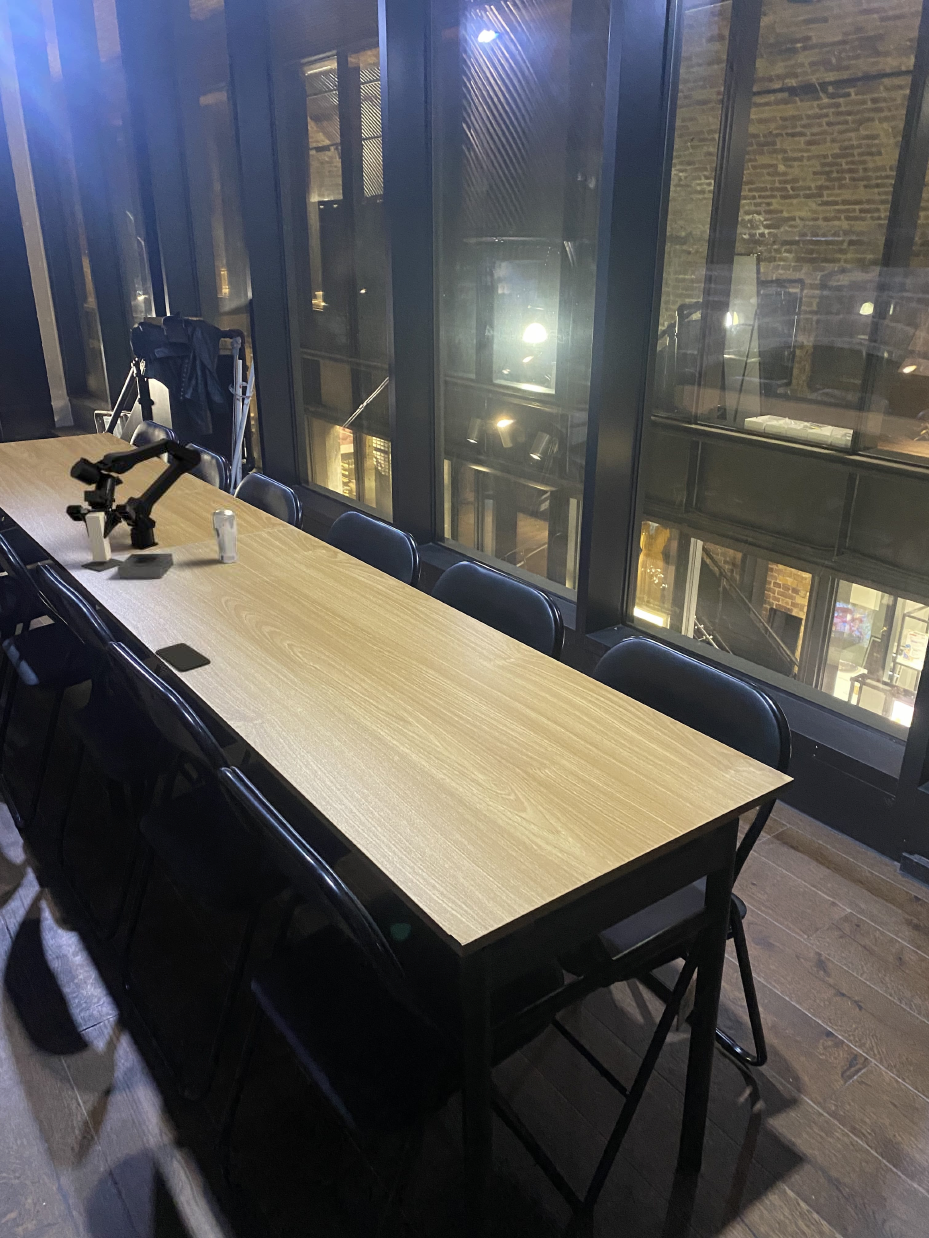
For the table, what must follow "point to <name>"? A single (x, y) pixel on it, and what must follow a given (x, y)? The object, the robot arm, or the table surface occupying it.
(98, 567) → the mat
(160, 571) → the socket block
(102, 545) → the peg
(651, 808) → the table surface
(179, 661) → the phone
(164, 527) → the table surface
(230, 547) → the beer glass
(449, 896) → the table surface
